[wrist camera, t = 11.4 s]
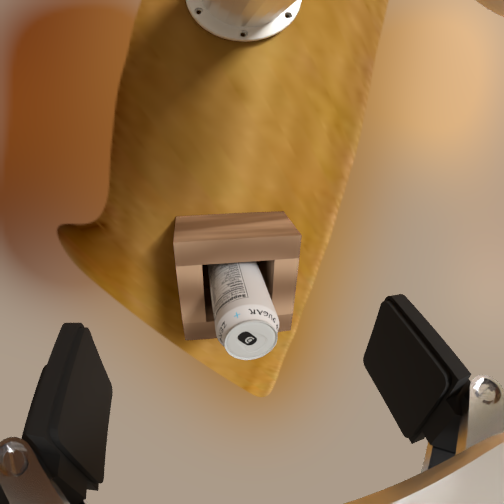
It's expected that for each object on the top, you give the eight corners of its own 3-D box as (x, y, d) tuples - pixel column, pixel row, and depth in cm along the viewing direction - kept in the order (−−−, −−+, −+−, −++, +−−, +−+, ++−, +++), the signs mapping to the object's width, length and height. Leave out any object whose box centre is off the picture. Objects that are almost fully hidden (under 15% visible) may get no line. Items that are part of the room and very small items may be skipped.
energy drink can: (230, 287, 42) (249, 372, 29) (197, 261, 40) (203, 345, 27) (263, 258, 41) (296, 337, 28) (231, 229, 38) (253, 304, 25)
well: (176, 216, 36) (173, 242, 30) (283, 211, 39) (301, 235, 32) (184, 305, 42) (185, 340, 36) (277, 298, 45) (290, 330, 38)
